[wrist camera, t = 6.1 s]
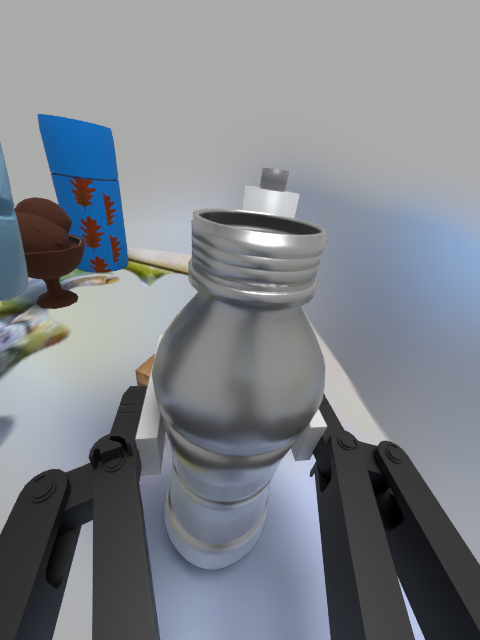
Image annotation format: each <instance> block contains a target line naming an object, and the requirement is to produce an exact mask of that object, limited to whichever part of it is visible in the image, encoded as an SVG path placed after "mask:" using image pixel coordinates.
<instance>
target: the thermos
mask: <svg viewBox="0 0 480 640" xmlns="http://www.w3.org/2000/svg"><path fill="white" fill-rule="evenodd" d="M38 122H39V128H40V132H41V136H42V140H43V144H44V148H45V152H46V156H47V160H48V164H49V168H50V172H53V173H51V176H52V180H53V184H54V188H55V191H56V196H57V199H58V203H59V206H60V207H61V208H62V209H63V210H64V211H65V212H66V213H67V215H68V216H69V217H70V219H71V220H72V224H71V228H70V231H69V234H72V235H75V236H78V237H80V238H83V239H85V249H84V253H83V256H82V260H81V263H80V264H79V265H78V266H77V268H78V269H80V270H83V271H87V272H111V271H117V270H120V269H123V268H125V267H126V266H127V265H128V255H127V244H126V236H125V228H124V220H123V212H122V204H121V196H120V189H119V181H118V180H116V179H118V172H117V164H116V156H115V148H114V141H113V136H112V132H111V129H110V128H107V127H104V126H100V125H97V124H92V123H88V122H84V121H79V120H74V119H69V118H64V117H58V116H52V115H44V114H38Z"/></svg>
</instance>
